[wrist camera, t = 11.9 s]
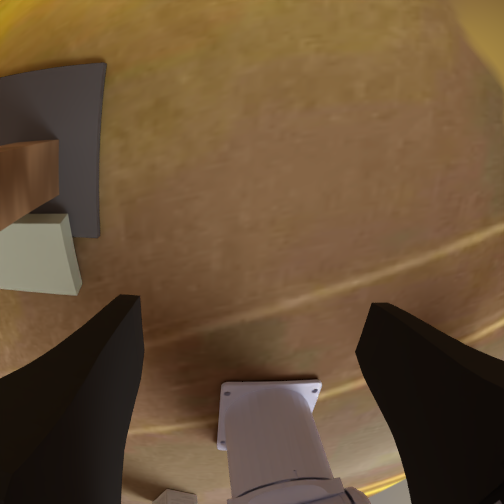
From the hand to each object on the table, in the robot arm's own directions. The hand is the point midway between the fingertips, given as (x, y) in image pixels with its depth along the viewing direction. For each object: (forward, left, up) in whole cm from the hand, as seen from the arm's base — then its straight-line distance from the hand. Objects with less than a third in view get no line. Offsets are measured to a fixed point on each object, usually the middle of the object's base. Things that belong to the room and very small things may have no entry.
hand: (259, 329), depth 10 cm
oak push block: (+3, +12, -9) cm, 16 cm away
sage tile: (-5, +13, -9) cm, 17 cm away
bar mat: (+4, +12, -10) cm, 16 cm away
